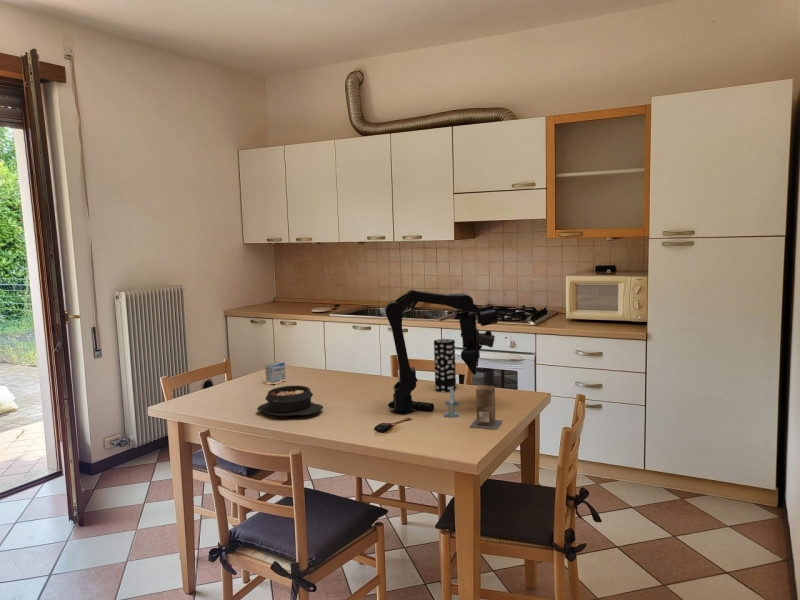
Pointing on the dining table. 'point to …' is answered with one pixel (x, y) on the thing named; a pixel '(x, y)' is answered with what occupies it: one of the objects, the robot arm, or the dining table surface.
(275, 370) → the medicine box
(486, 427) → the mat
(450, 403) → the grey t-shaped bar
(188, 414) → the dining table surface
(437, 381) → the spotted tube
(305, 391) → the casserole
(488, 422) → the walnut block
